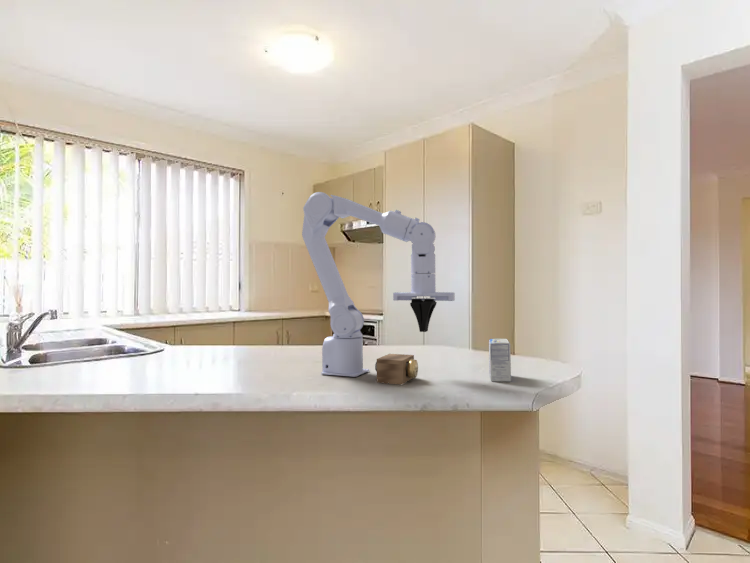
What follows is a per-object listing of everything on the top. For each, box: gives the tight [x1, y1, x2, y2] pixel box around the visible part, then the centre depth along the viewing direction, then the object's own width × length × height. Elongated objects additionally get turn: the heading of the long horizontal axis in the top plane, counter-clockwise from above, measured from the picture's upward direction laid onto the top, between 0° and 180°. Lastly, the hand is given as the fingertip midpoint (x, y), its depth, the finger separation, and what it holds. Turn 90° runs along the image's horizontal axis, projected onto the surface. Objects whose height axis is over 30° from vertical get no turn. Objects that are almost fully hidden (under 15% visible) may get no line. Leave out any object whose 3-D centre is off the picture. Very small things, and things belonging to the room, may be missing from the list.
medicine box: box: [488, 338, 512, 383], centre depth 108 cm, size 8×4×9 cm, turn 168°
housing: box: [376, 353, 415, 386], centre depth 107 cm, size 6×8×5 cm
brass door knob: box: [374, 359, 419, 379], centre depth 107 cm, size 9×4×4 cm, turn 67°
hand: (423, 331), depth 111 cm, fingers closed
